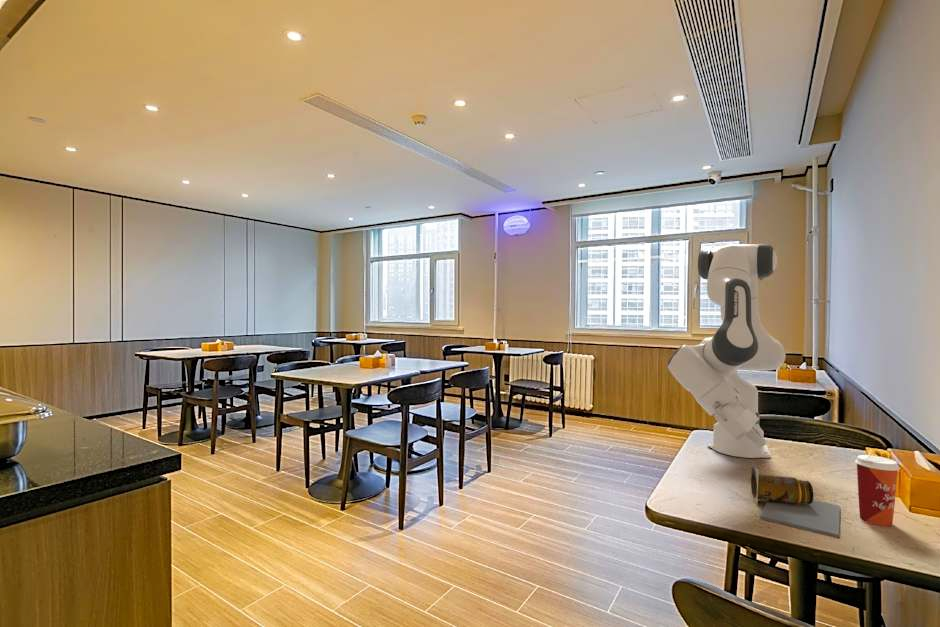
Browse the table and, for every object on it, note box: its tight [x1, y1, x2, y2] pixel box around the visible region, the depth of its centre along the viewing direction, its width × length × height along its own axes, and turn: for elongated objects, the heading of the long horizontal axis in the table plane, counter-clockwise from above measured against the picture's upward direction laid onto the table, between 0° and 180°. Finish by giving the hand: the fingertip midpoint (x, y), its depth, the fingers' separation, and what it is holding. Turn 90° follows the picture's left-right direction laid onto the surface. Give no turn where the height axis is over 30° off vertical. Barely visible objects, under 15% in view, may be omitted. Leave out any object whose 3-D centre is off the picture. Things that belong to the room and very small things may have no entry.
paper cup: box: [854, 454, 901, 527], centre depth 108 cm, size 8×8×14 cm
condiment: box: [750, 461, 814, 506], centre depth 117 cm, size 7×8×12 cm
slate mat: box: [760, 499, 841, 538], centre depth 112 cm, size 20×14×1 cm
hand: (763, 445), depth 117 cm, fingers closed
